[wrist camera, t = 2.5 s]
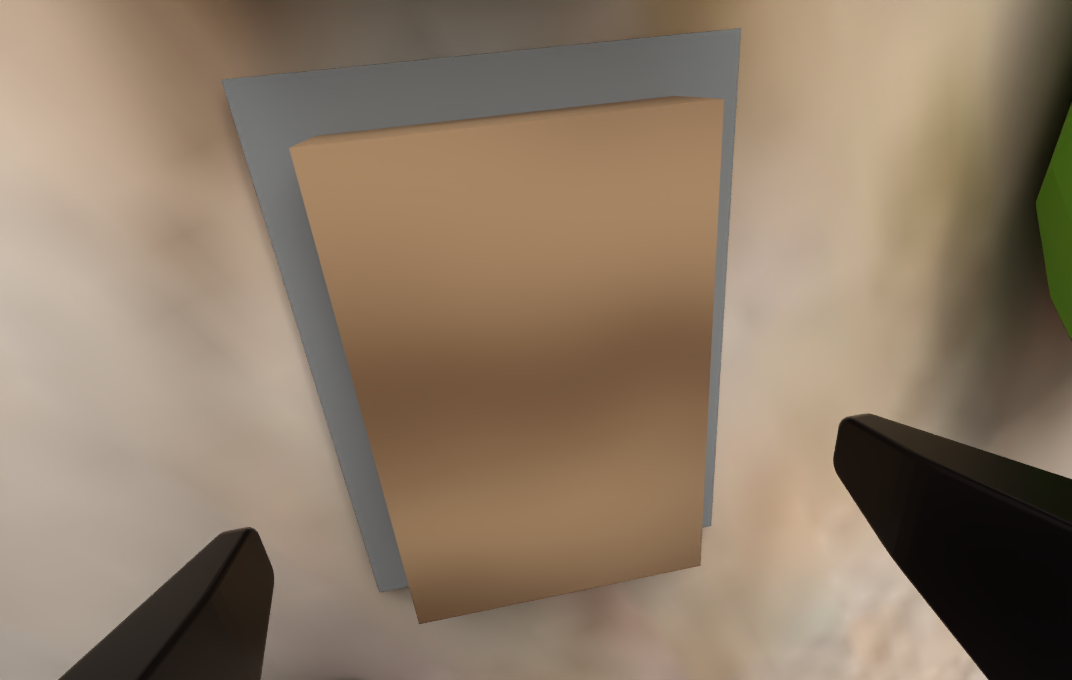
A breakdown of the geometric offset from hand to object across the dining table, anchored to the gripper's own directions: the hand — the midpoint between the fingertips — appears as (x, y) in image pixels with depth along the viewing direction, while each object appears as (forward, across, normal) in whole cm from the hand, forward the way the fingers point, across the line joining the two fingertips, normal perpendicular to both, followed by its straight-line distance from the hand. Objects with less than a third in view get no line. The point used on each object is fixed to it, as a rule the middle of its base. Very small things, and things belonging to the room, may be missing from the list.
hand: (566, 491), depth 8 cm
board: (+4, 0, 0) cm, 4 cm away
